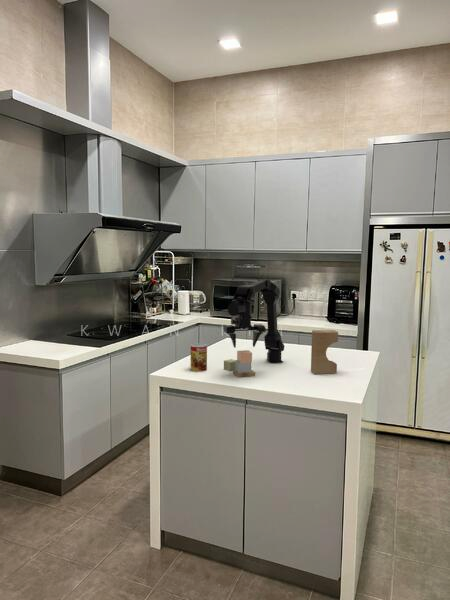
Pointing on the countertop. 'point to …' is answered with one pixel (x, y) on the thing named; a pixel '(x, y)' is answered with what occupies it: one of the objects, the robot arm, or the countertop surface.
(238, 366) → the grey block
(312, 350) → the decorative block
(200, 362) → the canned food
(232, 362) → the olive block
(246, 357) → the terracotta block
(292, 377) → the countertop surface
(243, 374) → the walnut slab
